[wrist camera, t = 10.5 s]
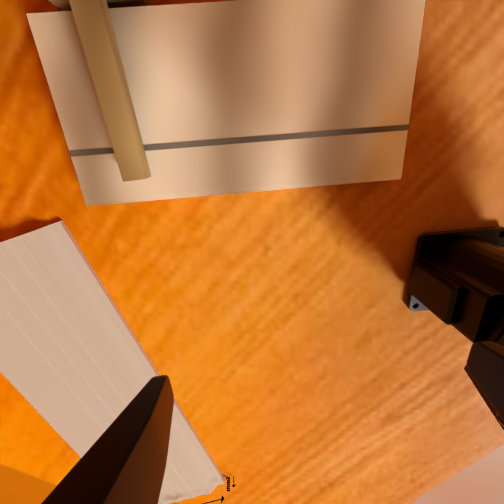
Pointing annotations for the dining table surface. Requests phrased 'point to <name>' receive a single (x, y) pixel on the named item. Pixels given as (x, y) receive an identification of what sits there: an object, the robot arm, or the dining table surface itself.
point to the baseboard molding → (82, 354)
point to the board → (242, 94)
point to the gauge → (110, 80)
